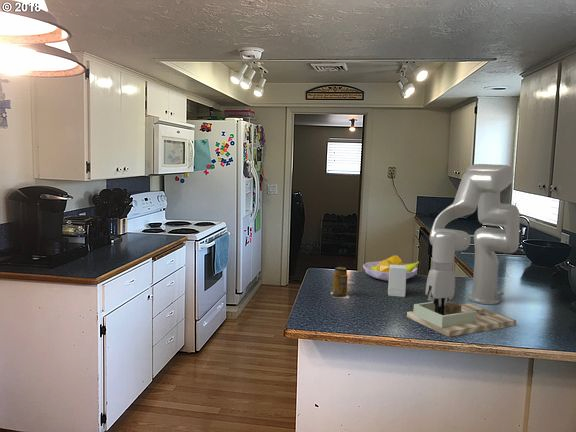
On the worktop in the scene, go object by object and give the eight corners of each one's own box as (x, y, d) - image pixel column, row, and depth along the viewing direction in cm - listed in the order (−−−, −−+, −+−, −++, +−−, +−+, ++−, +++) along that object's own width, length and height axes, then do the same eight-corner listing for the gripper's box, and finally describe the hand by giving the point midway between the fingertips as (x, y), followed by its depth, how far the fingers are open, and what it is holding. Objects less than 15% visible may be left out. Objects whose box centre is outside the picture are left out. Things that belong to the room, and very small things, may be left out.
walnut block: (450, 314, 182) (451, 301, 182) (460, 318, 178) (461, 305, 177) (440, 316, 180) (441, 303, 180) (450, 320, 176) (451, 307, 175)
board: (469, 308, 198) (470, 303, 198) (515, 325, 178) (516, 320, 178) (406, 317, 184) (407, 311, 184) (448, 337, 165) (449, 331, 164)
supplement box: (405, 297, 211) (407, 268, 210) (387, 295, 213) (389, 267, 211) (404, 292, 218) (406, 265, 217) (387, 291, 220) (389, 263, 218)
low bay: (446, 310, 188) (446, 299, 187) (476, 322, 174) (477, 311, 174) (413, 314, 181) (413, 304, 181) (441, 327, 168) (442, 316, 167)
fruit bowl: (351, 275, 249) (352, 253, 247) (392, 270, 262) (393, 249, 261) (388, 288, 225) (389, 264, 223) (431, 282, 238) (432, 259, 236)
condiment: (346, 293, 215) (347, 266, 214) (349, 298, 207) (350, 270, 206) (330, 292, 215) (331, 266, 214) (332, 298, 207) (333, 270, 205)
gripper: (450, 262, 181) (447, 310, 183) (419, 265, 174) (416, 315, 177) (466, 267, 174) (462, 316, 176) (433, 270, 168) (430, 321, 170)
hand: (439, 315), depth 177 cm, fingers closed
